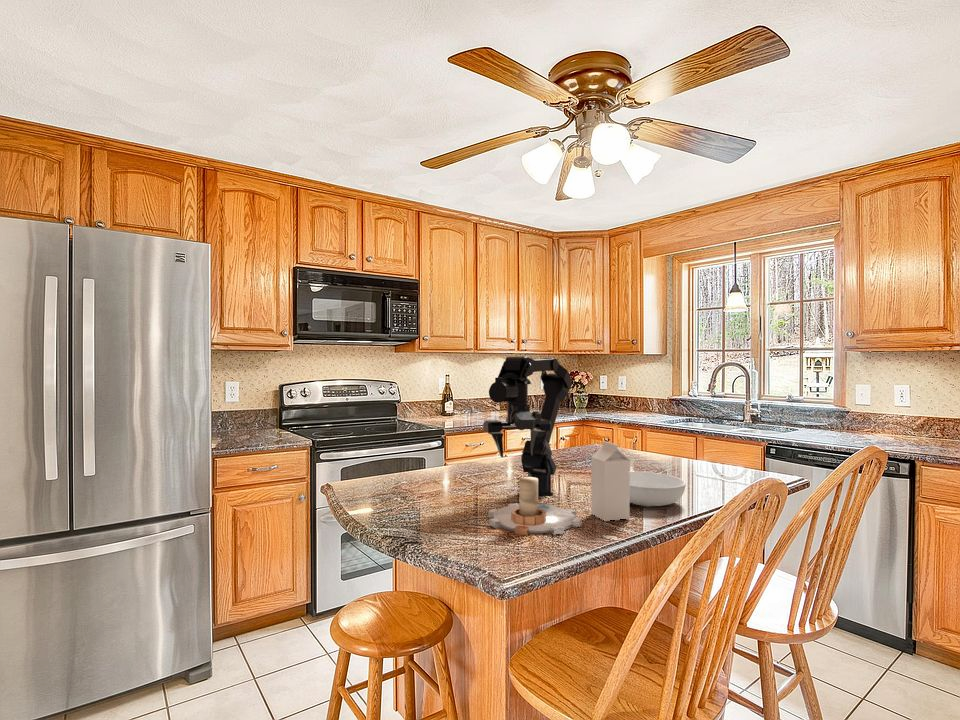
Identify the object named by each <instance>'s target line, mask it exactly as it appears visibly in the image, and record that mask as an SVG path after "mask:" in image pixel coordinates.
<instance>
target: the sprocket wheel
mask: <svg viewBox="0 0 960 720" xmlns="http://www.w3.org/2000/svg"><path fill="white" fill-rule="evenodd" d="M487 516H488V518H489V526H491V527H492V528H494V529H500V528H501V529H504V530H507V531H511V532H514V534H515V535H518V536H519V535H520V536H528V535H529V534H531V535H533V534H535V535H536V534H537V535H541V534H542V535H543V533H547V534H551V533H552V534H553V535H552V534H551V535H552V536H557V535H556V534H560V535H564V534H565V531H567V530H566V529H568V530H570V529H572V528H575V527H574V526H577V527H578V526H579V527H581V526H582V525H581V524H583V520H582V518H580V517H577V510H575V509H572V508H562V507H560V506H559V507H558V506H555V505H554V506H553V505H551V503H542V502H539V503H538V515H537V516H523V515H519V503H517V502H515V503H508V504H507V506H504V507H501V508H498V509H497V508H491V509H490V510H488V515H487ZM580 525H581V526H580ZM572 526H573V527H572ZM571 527H572V528H571ZM577 527H576V528H577ZM569 528H570V529H569ZM564 530H565V531H564ZM563 533H564V534H563Z"/></svg>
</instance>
